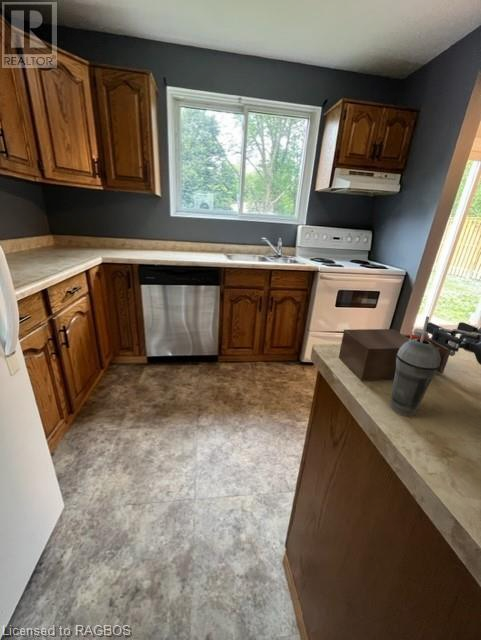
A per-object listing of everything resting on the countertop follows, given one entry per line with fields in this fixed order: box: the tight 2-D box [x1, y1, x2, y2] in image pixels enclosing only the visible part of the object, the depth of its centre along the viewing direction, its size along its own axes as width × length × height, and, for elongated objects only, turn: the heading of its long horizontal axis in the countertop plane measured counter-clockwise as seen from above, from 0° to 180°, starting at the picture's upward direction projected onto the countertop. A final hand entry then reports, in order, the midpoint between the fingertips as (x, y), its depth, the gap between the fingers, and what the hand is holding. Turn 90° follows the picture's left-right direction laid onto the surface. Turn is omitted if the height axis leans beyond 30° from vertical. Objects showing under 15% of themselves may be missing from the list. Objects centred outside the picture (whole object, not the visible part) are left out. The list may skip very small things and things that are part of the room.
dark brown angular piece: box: [401, 333, 456, 374], centre depth 72 cm, size 18×10×7 cm, turn 98°
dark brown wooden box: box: [338, 328, 411, 382], centre depth 70 cm, size 15×12×9 cm
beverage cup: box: [389, 315, 441, 418], centre depth 52 cm, size 7×7×20 cm
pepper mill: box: [410, 328, 430, 341], centre depth 71 cm, size 4×4×8 cm
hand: (443, 326), depth 63 cm, fingers open, 8 cm apart
